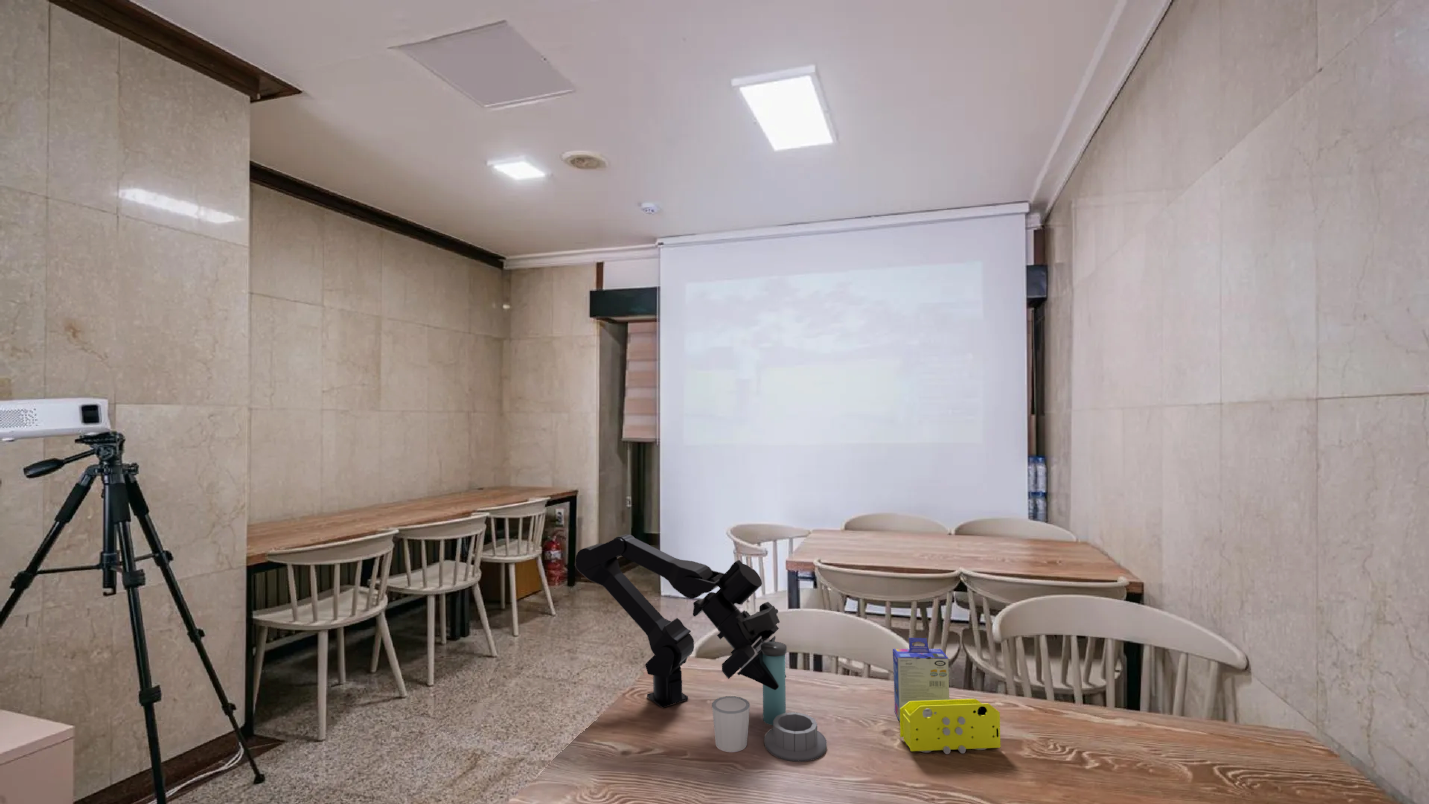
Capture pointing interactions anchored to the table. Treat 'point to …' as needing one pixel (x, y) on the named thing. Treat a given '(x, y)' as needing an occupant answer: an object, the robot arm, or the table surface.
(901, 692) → the ink cartridge box
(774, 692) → the teal capped cylinder
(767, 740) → the ring mount
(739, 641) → the robot arm
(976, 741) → the yellow toy chassis
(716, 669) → the table surface
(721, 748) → the shot glass
